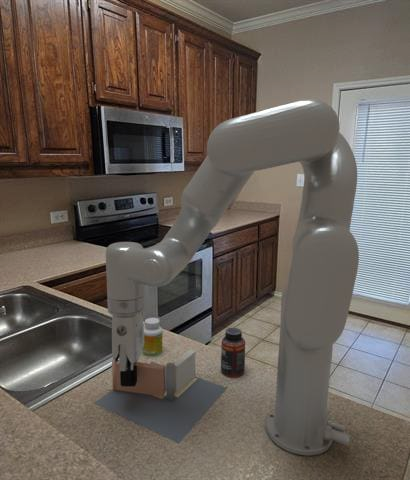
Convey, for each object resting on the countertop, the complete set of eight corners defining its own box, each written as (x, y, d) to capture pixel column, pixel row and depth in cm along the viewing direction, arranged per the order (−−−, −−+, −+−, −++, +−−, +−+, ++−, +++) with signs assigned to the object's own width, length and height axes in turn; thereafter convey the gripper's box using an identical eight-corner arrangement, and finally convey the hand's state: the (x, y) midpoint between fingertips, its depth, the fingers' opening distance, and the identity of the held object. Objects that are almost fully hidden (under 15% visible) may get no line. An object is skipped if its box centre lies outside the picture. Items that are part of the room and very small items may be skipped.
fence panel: (165, 392, 79) (165, 365, 77) (163, 396, 77) (163, 369, 76) (114, 385, 81) (113, 359, 80) (111, 389, 79) (110, 362, 78)
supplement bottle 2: (247, 369, 90) (249, 328, 88) (239, 382, 85) (241, 338, 83) (225, 364, 93) (227, 323, 91) (216, 375, 87) (218, 333, 85)
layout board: (227, 389, 82) (228, 356, 80) (178, 445, 65) (179, 404, 63) (152, 362, 93) (151, 333, 91) (93, 404, 76) (92, 368, 74)
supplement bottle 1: (158, 359, 94) (158, 325, 93) (139, 357, 95) (139, 323, 94) (164, 350, 100) (164, 317, 98) (146, 347, 101) (146, 315, 99)
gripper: (138, 317, 65) (140, 407, 68) (150, 291, 79) (151, 365, 83) (97, 317, 65) (101, 406, 68) (117, 290, 79) (119, 365, 83)
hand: (129, 384), depth 75 cm, fingers closed
